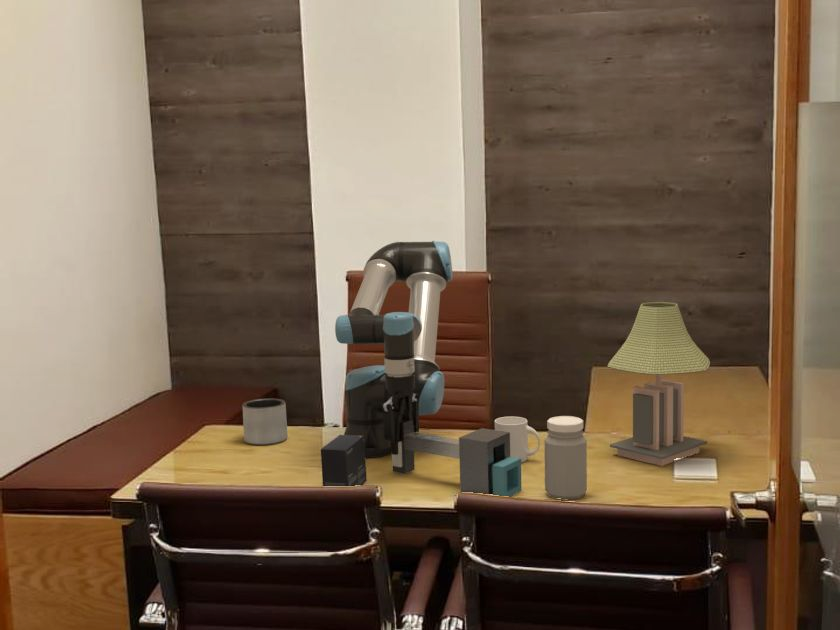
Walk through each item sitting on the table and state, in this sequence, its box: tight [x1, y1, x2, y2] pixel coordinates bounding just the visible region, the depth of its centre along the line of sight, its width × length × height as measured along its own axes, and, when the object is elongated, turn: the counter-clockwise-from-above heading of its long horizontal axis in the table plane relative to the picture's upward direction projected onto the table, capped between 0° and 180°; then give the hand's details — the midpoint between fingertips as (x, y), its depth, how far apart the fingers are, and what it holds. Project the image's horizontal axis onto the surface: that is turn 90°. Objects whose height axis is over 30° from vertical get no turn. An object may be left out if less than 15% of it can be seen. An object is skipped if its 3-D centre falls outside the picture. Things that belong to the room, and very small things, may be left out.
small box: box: [320, 434, 368, 487], centre depth 251 cm, size 13×7×12 cm, turn 163°
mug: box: [494, 416, 541, 464], centre depth 270 cm, size 9×12×11 cm
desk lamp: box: [607, 301, 711, 467], centre depth 270 cm, size 26×28×40 cm
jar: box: [543, 415, 588, 500], centre depth 241 cm, size 10×10×18 cm
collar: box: [492, 457, 522, 497], centre depth 243 cm, size 3×8×8 cm, turn 144°
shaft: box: [391, 417, 460, 475], centre depth 254 cm, size 28×4×13 cm, turn 54°
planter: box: [242, 397, 288, 446], centre depth 297 cm, size 12×13×11 cm
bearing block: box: [458, 427, 510, 494], centre depth 246 cm, size 8×10×14 cm
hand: (402, 463), depth 262 cm, fingers closed on shaft, 4 cm apart
